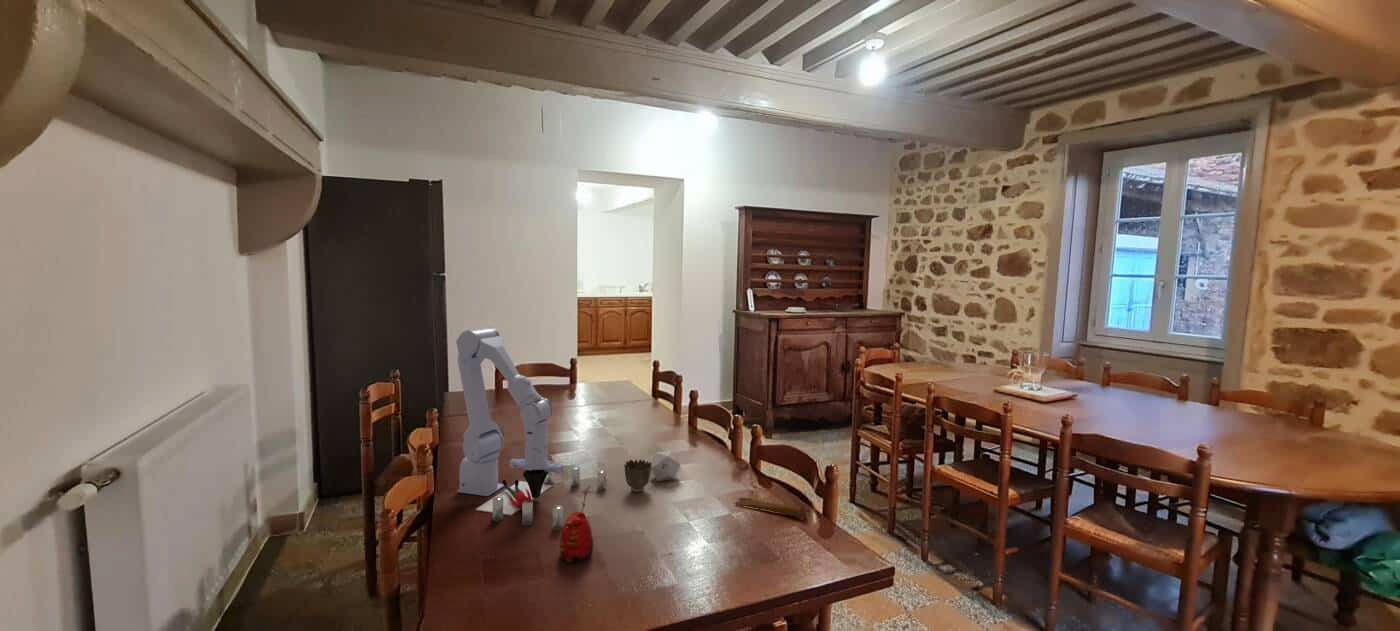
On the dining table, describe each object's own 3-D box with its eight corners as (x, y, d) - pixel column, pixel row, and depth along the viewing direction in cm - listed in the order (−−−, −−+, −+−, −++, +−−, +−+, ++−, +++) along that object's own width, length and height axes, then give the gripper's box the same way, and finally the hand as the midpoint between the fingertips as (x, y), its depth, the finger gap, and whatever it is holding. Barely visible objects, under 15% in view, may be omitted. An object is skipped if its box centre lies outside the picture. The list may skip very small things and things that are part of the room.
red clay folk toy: (557, 550, 125) (557, 483, 124) (589, 545, 128) (590, 479, 126) (562, 567, 118) (563, 496, 117) (596, 561, 121) (597, 492, 119)
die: (643, 480, 169) (649, 461, 163) (655, 458, 176) (661, 439, 170) (668, 492, 168) (675, 473, 162) (679, 470, 175) (686, 451, 169)
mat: (475, 510, 144) (475, 509, 144) (519, 482, 163) (519, 481, 163) (511, 515, 141) (511, 514, 141) (551, 486, 160) (551, 485, 160)
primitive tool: (732, 506, 152) (732, 493, 151) (740, 499, 156) (741, 486, 156) (802, 523, 143) (803, 510, 142) (809, 515, 147) (809, 502, 147)
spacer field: (490, 520, 138) (490, 500, 138) (547, 480, 165) (548, 463, 164) (559, 530, 134) (560, 510, 133) (607, 488, 160) (607, 470, 160)
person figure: (518, 472, 157) (535, 495, 142) (523, 485, 158) (540, 509, 143) (500, 481, 155) (515, 505, 140) (504, 494, 156) (520, 519, 140)
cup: (646, 498, 154) (646, 469, 153) (620, 495, 156) (620, 466, 155) (654, 488, 161) (654, 460, 161) (628, 485, 163) (629, 457, 162)
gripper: (502, 447, 147) (502, 499, 148) (553, 453, 144) (553, 506, 145) (517, 440, 154) (517, 489, 155) (567, 445, 151) (566, 495, 152)
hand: (536, 496), depth 151 cm, fingers closed
